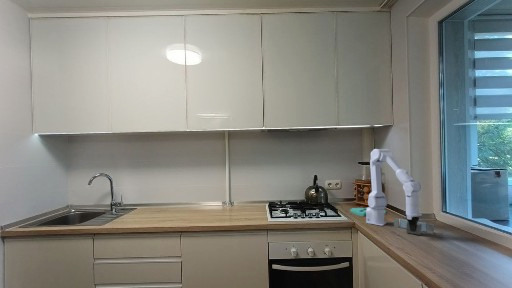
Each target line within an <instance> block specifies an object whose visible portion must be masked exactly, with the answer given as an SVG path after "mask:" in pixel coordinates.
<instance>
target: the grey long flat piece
mask: <svg viewBox="0 0 512 288" xmlns="http://www.w3.org/2000/svg"><path fill="white" fill-rule="evenodd" d="M401 219H402V218H396V217H394V218H393V227H394V228H399V227H400V229H401V228H402V227H401ZM426 233H428V234H434V233H435V224H434V223H428V222H427V223H426Z"/></svg>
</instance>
